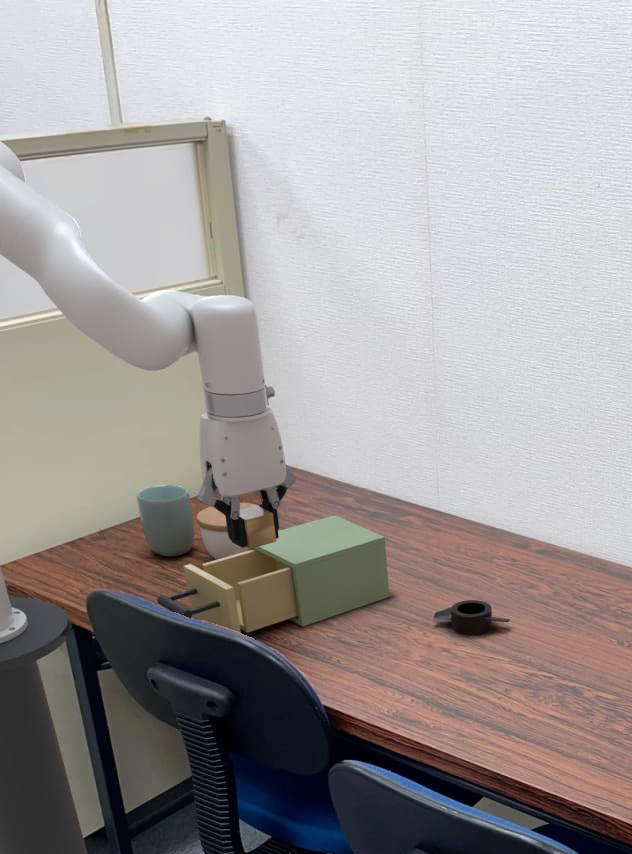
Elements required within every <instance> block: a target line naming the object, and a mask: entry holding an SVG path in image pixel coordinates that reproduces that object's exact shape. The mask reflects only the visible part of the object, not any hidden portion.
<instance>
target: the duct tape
mask: <svg viewBox="0 0 632 854" xmlns="http://www.w3.org/2000/svg"><path fill="white" fill-rule="evenodd" d="M492 611H493V609H492V606H491V604H490V603H488V602H486V601H483V600H478V599H477V600H476V599H467V600H462V601H461V600H460V601H458V602H456V603H454V604H452V606H451V607H448V608H445V609H441V610H439V611H436V612H434V615H433V621H436V620H437V621H450V622H451V629H452V631H453V632H455V633H456V634H459V635H462V636H480V635H484V634H486V633H489V632H490V631H492V630H493V629H492V628H493V622H499V623H509V622H510V621H511V619H510V618H503V617H496V616H493V613H492Z"/></svg>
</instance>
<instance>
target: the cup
mask: <svg viewBox="0 0 632 854" xmlns="http://www.w3.org/2000/svg"><path fill="white" fill-rule="evenodd" d="M136 503H137V508H138V512H139V513H138V514H139V518H140V523H141V526H142V530H143V534H144V537H145V540H146V542H147V545H148V546H149V548H150V549H151V550H152V551H153V552H154V553H156V554H157V555H159V556H161V557H169V558H170V557H178V556H181V555H184V554H186V553H188V552H189V551H190V550H191V549H192V548H193V546H194V543H195V536H196V535H195V520H194V514H193V508H192V503H191V497H190V493H189V490H188V489H187V488H186V487H184V486H181V485H177V484H176V485H175V484H159V485H153V486H148V487H146V488H143V489H141V490H139V491H138V492H137V493H136Z"/></svg>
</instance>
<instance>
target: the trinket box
mask: <svg viewBox="0 0 632 854" xmlns="http://www.w3.org/2000/svg"><path fill="white" fill-rule="evenodd" d="M256 505H257V506H259V505H260V504H259V505H258V504H255V503H250V502H240V509H244V508H248V507H252V506H256ZM196 522H197V525H198V529H199V535H200V539H201V541H202V545H203V546H204V548H205V549H206V551H207V553H208V554H209V555H210V556H211V557H212V558H214V560H218V559H221V558H225V557H228V556H232V555H235V554H239V553H242V552H246V551H248V549H247V547H244V548H242V547H240V546H238V545H236V544H234V543H232V541H231V540H230V539H229V536H228V531H227V524H226V517H225V515H224V514H222V513H221V512H220V511H218V510H217V509H215V508H214V507H211V506H208V507H206V508H203V509H201V510H200V511H199V512H197V515H196Z"/></svg>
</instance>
